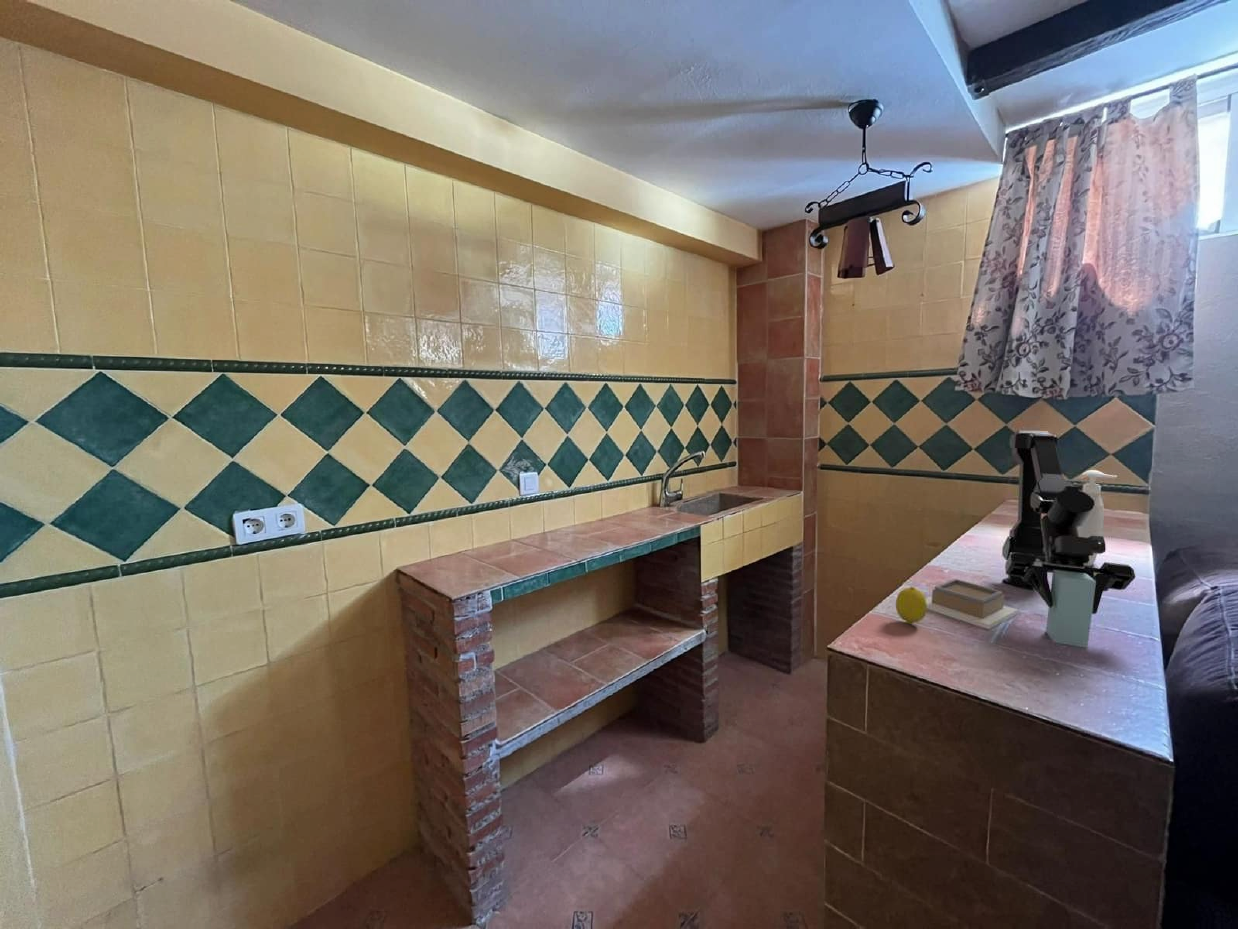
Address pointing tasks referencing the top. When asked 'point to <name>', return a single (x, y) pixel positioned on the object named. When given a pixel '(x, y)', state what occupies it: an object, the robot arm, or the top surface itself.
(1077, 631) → the pillar
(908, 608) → the lemon
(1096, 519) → the soap bottle
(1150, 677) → the top surface
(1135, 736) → the top surface
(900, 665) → the top surface
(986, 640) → the top surface
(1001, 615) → the build base
